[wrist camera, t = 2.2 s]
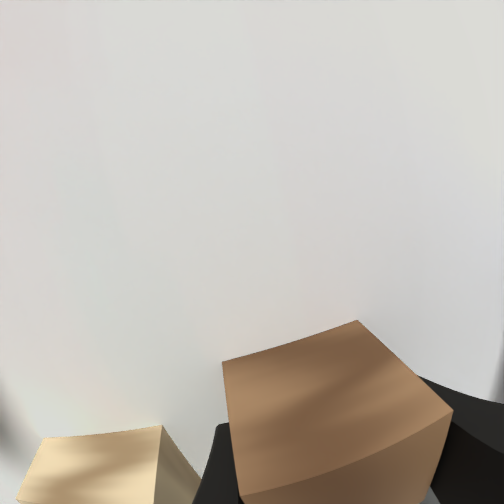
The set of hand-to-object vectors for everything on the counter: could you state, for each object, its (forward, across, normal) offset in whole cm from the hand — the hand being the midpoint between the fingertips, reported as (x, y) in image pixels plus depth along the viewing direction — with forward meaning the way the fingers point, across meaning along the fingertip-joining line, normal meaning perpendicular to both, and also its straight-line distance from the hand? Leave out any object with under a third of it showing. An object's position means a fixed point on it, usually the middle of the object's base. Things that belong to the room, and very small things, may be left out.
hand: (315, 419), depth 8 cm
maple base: (+2, +8, +3) cm, 9 cm away
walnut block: (+1, 0, 0) cm, 1 cm away
